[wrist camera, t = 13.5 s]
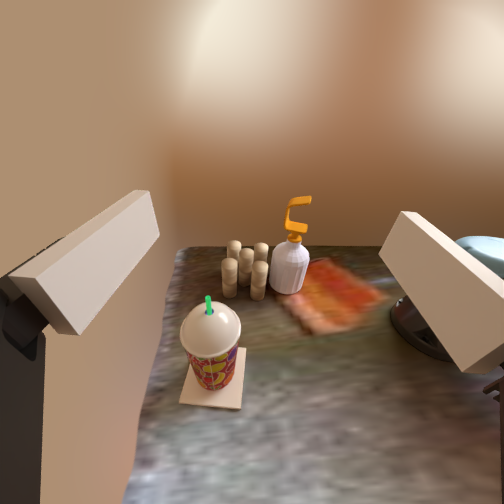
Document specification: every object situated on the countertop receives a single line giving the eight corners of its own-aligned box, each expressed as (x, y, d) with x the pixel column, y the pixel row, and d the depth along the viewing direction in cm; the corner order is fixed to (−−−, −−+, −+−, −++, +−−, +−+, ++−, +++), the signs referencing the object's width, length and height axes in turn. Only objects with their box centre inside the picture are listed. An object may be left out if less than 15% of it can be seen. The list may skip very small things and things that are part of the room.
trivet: (246, 349, 42) (246, 348, 41) (240, 409, 34) (240, 408, 33) (196, 345, 42) (196, 343, 42) (179, 403, 34) (178, 402, 33)
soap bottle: (299, 299, 53) (325, 210, 39) (265, 289, 55) (276, 201, 40) (303, 276, 60) (326, 193, 46) (272, 268, 62) (285, 187, 47)
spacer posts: (264, 271, 61) (268, 243, 55) (263, 301, 52) (268, 271, 46) (228, 268, 61) (228, 240, 55) (221, 297, 52) (220, 267, 46)
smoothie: (191, 355, 40) (173, 278, 28) (234, 345, 42) (235, 270, 30) (192, 406, 33) (170, 334, 21) (243, 392, 35) (249, 319, 23)
